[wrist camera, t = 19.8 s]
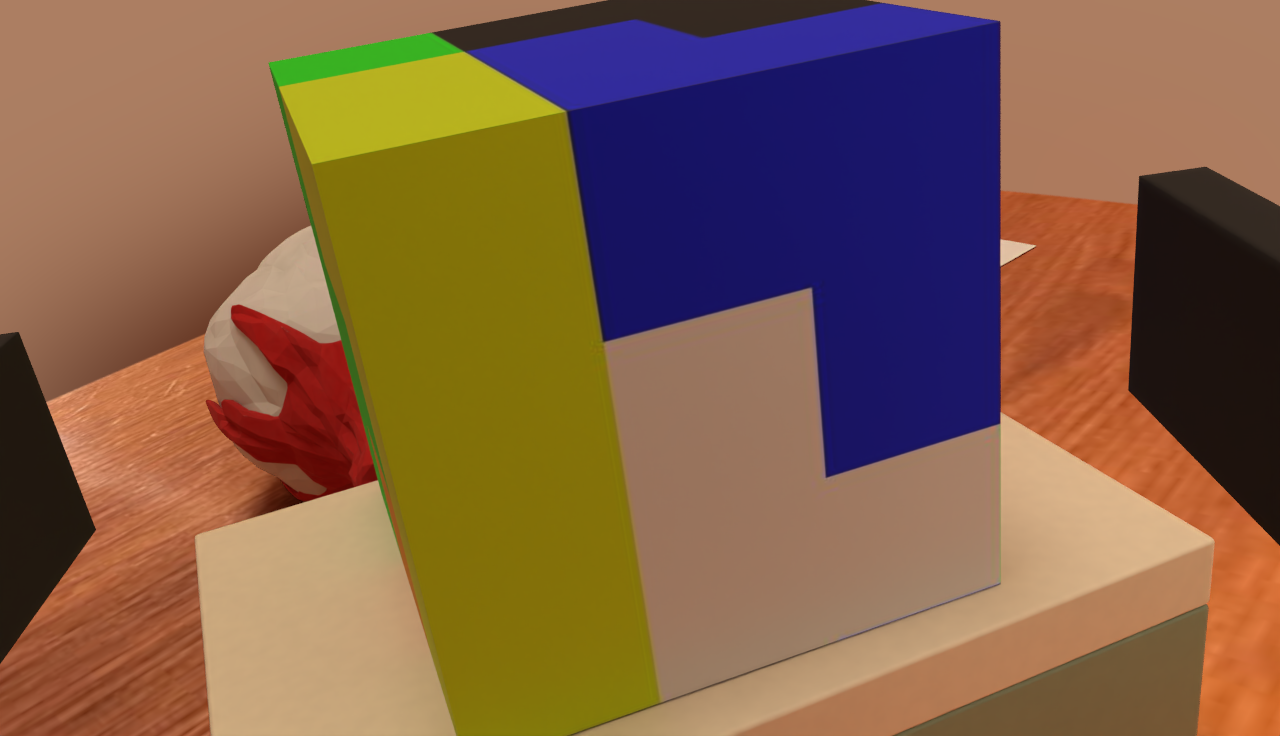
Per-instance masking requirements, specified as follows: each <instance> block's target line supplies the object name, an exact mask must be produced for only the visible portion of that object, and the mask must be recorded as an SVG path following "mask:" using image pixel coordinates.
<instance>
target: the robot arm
mask: <svg viewBox="0 0 1280 736" xmlns="http://www.w3.org/2000/svg"><path fill="white" fill-rule="evenodd" d="M1128 390H1129V391H1130V392H1131V393H1132V394H1133V395H1134V396H1135V397H1136V398H1137V399H1138V400H1139V402H1140V403H1141V404H1142V405H1143V406H1144V407H1145V408H1146V409H1147V410H1148V411H1149V412H1150V413H1151V414H1152V415H1153V416H1154V417H1155V418H1156V419H1157V420H1158V421H1159V422H1160V423H1161V424H1162V425H1163V426H1164V427H1165V428H1166V429H1167V430H1168V431H1169V432H1170V433H1171V434H1172V435H1173V436H1174V437H1175V439H1176V440H1177V441H1178V442H1179V443H1180V444H1181V445H1182V446H1183V447H1184V448H1185V449H1186V450H1187V451H1188V452H1189V453H1190V454H1191V455H1192V456H1193V457H1194V458H1195V459H1196V460H1197V461H1198V462H1199V463H1200V464H1201V465H1202V466H1203V467H1204V468H1205V469H1206V470H1207V471H1208V472H1209V473H1210V475H1211V476H1212V477H1213V478H1214V479H1215V480H1216V481H1217V482H1218V483H1219V484H1220V485H1221V486H1222V487H1223V488H1224V489H1225V490H1226V491H1227V492H1228V493H1229V494H1230V495H1231V496H1232V497H1233V498H1234V499H1235V500H1236V501H1237V502H1238V503H1239V504H1240V505H1241V506H1242V507H1243V508H1244V509H1245V510H1246V512H1247V513H1248V514H1249V515H1250V516H1251V517H1252V518H1253V519H1254V520H1255V521H1256V522H1257V523H1258V524H1259V525H1260V526H1261V527H1262V528H1263V529H1264V530H1265V531H1266V532H1267V533H1268V534H1269V535H1270V536H1271V537H1272V538H1273V539H1274V540H1275V541H1276V542H1277V543H1278V544H1279V545H1280V206H1278V205H1276V204H1275V203H1273V202H1271V201H1269V200H1267V199H1265V198H1263V197H1262V196H1260V195H1257V194H1256V193H1254V192H1252V191H1250V190H1248V189H1246V188H1245V187H1243V186H1241V185H1239V184H1237V183H1235V182H1234V181H1232V180H1230V179H1228V178H1226V177H1224V176H1222V175H1220V174H1219V173H1217V172H1215V171H1213V170H1211V169H1209V168H1207V167H1201V168H1195V169H1187V170H1180V171H1172V172H1165V173H1158V174H1152V175H1144V176H1139V193H1138V212H1137V231H1136V251H1135V271H1134V291H1133V310H1132V330H1131V350H1130V370H1129V389H1128ZM95 531H96V529H95V526H94V524H93V521H92V519H91V516H90V513H89V511H88V508H87V506H86V503H85V501H84V498H83V496H82V493H81V490H80V488H79V485H78V483H77V480H76V478H75V475H74V472H73V470H72V467H71V465H70V462H69V460H68V457H67V455H66V452H65V449H64V447H63V444H62V442H61V439H60V437H59V434H58V432H57V429H56V426H55V424H54V421H53V419H52V416H51V414H50V411H49V409H48V406H47V403H46V401H45V398H44V396H43V393H42V391H41V388H40V385H39V383H38V380H37V378H36V375H35V373H34V370H33V368H32V365H31V362H30V360H29V358H28V355H27V352H26V350H25V347H24V345H23V342H22V339H21V337H20V334H19V332H15V333H8V334H1V335H0V663H1V662H2V661H3V659H4V658H5V656H6V655H7V654H8V652H9V651H10V649H11V648H12V647H13V645H14V644H15V642H16V641H17V640H18V638H19V637H20V635H21V634H22V633H23V631H24V630H25V628H26V627H27V626H28V624H29V623H30V621H31V620H32V619H33V617H34V616H35V614H36V613H37V612H38V610H39V609H40V607H41V606H42V605H43V603H44V602H45V600H46V599H47V598H48V596H49V595H50V593H51V592H52V591H53V589H54V588H55V586H56V585H57V584H58V582H59V581H60V579H61V578H62V577H63V575H64V574H65V572H66V571H67V570H68V568H69V567H70V566H71V564H72V563H73V561H74V560H75V559H76V557H77V556H78V554H79V553H80V552H81V550H82V549H83V547H84V546H85V545H86V543H87V542H88V540H89V539H90V538H91V536H92V535H93V533H94V532H95Z"/></svg>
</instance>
